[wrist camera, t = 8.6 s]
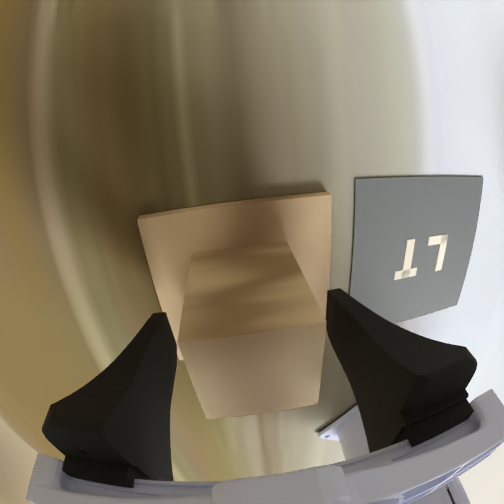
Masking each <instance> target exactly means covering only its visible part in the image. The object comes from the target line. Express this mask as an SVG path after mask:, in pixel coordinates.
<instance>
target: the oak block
mask: <svg viewBox="0 0 504 504" xmlns="http://www.w3.org/2000/svg"><path fill="white" fill-rule="evenodd" d="M325 334H326V320H325V318H324V316H323V314H322V311H321V309H320V307H319V305H318V303H317V301H316V299H315V297H314V295H313V293H312V291H311V289H310V287H309V285H308V283H307V281H306V279H305V277H304V275H303V273H302V271H301V269H300V267H299V265H298V263H297V261H296V259H295V257H294V255H293V253H292V251H291V249H290V247H289V245H288V243H287V242H280V243H272V244H264V245H256V246H248V247H240V248H232V249H224V250H216V251H209V252H201V253H193V254H192V256H191V261H190V267H189V272H188V278H187V284H186V290H185V296H184V302H183V308H182V314H181V321H180V327H179V334H178V341H177V342H178V345H179V348H180V351H181V354H182V356H183V359H184V362H185V365H186V368H187V370H188V373H189V376H190V378H191V381H192V384H193V386H194V389H195V391H196V394H197V396H198V399H199V401H200V404H201V406H202V409H203V411H204V413H205V416H206V418H207V419H216V418H228V417H238V416H247V415H255V414H263V413H270V412H276V411H282V410H288V409H294V408H299V407H304V406H309V405H314V404H318V398H319V391H320V383H321V374H322V365H323V356H324V345H325Z"/></svg>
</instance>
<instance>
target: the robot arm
mask: <svg viewBox="0 0 504 504" xmlns="http://www.w3.org/2000/svg"><path fill="white" fill-rule="evenodd" d="M326 330H327V333H328V336H329V339H330V342H331V344H332V347H333V349H334V351H335V353H336V355H337V357H338V359H339V361H340V363H341V365H342V367H343V369H344V371H345V373H346V375H347V378H348V380H349V382H350V384H351V387H352V390H353V393H354V396H355V399H356V402H357V405H356V406H355V407H353V408H352V409H351V410H350V411H348V412H347V413H346V414H344V415H343V416H342V417H340V418H339V419H338V420H336V421H335V422H334V423H332V424H331V425H329V426H328V427H327V428H325V429H324V430H322V431H321V432H319V433H318V437H319V438H322V439H330V440H339V441H340V444H341V447H342V450H343V453H344V456H345V459H346V461H342V462H338V463H334V464H330V465H325V466H318V467H312V468H308V469H303V470H297V471H292V472H286V473H280V474H274V475H267V476H259V477H250V478H239V479H233V480H226V481H210V482H173V473H172V463H171V449H170V407H171V399H172V392H173V386H174V379H175V373H176V366H177V344H176V341H175V338H174V335H173V332H172V329H171V326H170V323H169V320H168V317H167V314H166V312H162V313H153V314H152V315H151V317H150V318H149V319H148V321H147V322H146V323H145V324H144V326H143V327H142V328H141V330H140V331H139V332H138V333H137V335H136V336H135V337H134V339H133V340H132V341H131V342H130V343H129V345H128V346H127V347H126V348H125V349H124V350H123V351H122V353H121V354H120V355H119V356H118V357H117V358H116V359H115V360H114V361H113V362H112V363H111V364H110V365H109V366H108V367H107V368H106V369H105V370H104V371H102V372H101V373H100V374H99V375H98V376H96V377H95V378H94V379H93V380H91V381H90V382H89V383H87V384H86V385H85V386H83V387H82V388H80V389H79V390H77V391H76V392H74V393H72V394H71V395H69V396H67V397H65V398H63V399H61V400H60V401H58V402H56V403H54V404H51V406H50V408H49V411H48V413H47V416H46V419H45V421H44V424H43V427H42V432H43V434H44V435H45V437H46V438H47V439H48V441H49V442H51V443H52V444H53V445H54V446H55V447H56V448H57V449H58V450H59V451H61V452H62V453H63V454H64V455H65V460H64V461H62V460H60V459H57V458H54V457H50V456H47V455H43V454H40V453H39V454H38V455H37V458H36V461H35V465H34V468H33V472H32V476H31V480H30V484H29V488H28V492H27V496H26V499H27V500H28V501H30V502H31V503H33V504H470V502H469V499H468V497H467V495H466V493H465V491H464V488H463V486H462V484H461V482H460V480H459V478H458V476H460V475H461V474H463V473H465V472H466V471H467V470H469V469H471V468H472V467H473V466H475V465H477V464H478V463H479V462H481V461H482V460H484V459H485V458H487V457H488V456H489V455H490V454H492V453H493V452H494V451H495V450H496V449H497V448H498V447H499V446H500V445H501V444H502V443H503V442H504V405H503V404H502V403H501V401H500V400H499V398H498V397H497V395H496V394H495V393H494V391H493V390H492V389H490V390H488V391H487V392H485V393H483V394H482V395H480V396H478V397H477V398H475V399H474V400H473V401H471V402H470V404H469V402H468V401H467V399H466V398H468V393H467V391H466V390H465V389H466V387H467V385H468V384H469V382H470V380H471V379H472V377H473V375H474V373H475V371H476V367H477V361H476V359H475V358H474V357H473V355H472V354H471V353H470V352H469V350H468V349H467V348H466V347H463V346H458V345H452V344H447V343H443V342H439V341H435V340H432V339H429V338H425V337H423V336H420V335H417V334H415V333H412V332H410V331H407V330H405V329H403V328H401V327H399V326H397V325H395V324H393V323H391V322H389V321H388V320H386V319H384V318H383V317H381V316H379V315H378V314H376V313H374V312H373V311H371V310H370V309H368V308H367V307H366V306H364V305H363V304H361V303H360V302H358V301H357V300H356V299H354V298H353V297H351V296H350V295H349V294H347V293H346V292H344V291H343V290H342V289H340V288H339V289H334V290H328V291H327V304H326ZM445 484H446V485H447V487H446V485H445ZM447 488H448V489H447Z"/></svg>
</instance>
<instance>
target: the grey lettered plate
mask: <svg viewBox="0 0 504 504" xmlns="http://www.w3.org/2000/svg"><path fill="white" fill-rule="evenodd" d="M482 186H483V177H461V176H425V177H386V178H364V179H355V216H354V239H353V256H352V270H351V282H350V292H349V295H350V296H351V297H353V298H354V299H356V300H357V301H358V302H360V303H361V304H363V305H364V306H366V307H367V308H368V309H370V310H371V311H373V312H374V313H376V314H378V315H379V316H381V317H383V318H384V319H386V320H388V321H389V322H391V323H393V324H394V323H398V322H401V321H405V320H409V319H412V318H416V317H419V316H423V315H426V314H429V313H433V312H436V311H439V310H442V309H445V308H448V307H451V306H454V305H457V303H458V300H459V296H460V293H461V290H462V286H463V283H464V279H465V276H466V272H467V268H468V264H469V260H470V256H471V252H472V247H473V242H474V237H475V232H476V227H477V221H478V215H479V209H480V202H481V194H482Z"/></svg>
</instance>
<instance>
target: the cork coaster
mask: <svg viewBox="0 0 504 504" xmlns="http://www.w3.org/2000/svg"><path fill="white" fill-rule="evenodd" d="M137 222H138V227H139V231H140V235H141V239H142V243H143V246H144V250H145V254H146V258H147V261H148V265H149V269H150V272H151V276H152V279H153V282H154V286H155V289H156V292H157V296H158V299H159V302H160V305H161V308H162V311H163V312H166V314H167V317H168V320H169V323H170V326H171V329H172V332H173V335H174V338H175V341H176V344H177V355H178V357H179V360H184V359H183V356H182V354H181V351H180V348H179V345H178V342H177V341H178V334H179V327H180V321H181V314H182V308H183V302H184V296H185V290H186V284H187V278H188V272H189V267H190V261H191V256H192V254H193V253H201V252H209V251H216V250H224V249H232V248H240V247H248V246H256V245H264V244H272V243H280V242H287V243H288V245H289V247H290V249H291V251H292V253H293V255H294V257H295V259H296V261H297V263H298V265H299V267H300V269H301V271H302V273H303V275H304V277H305V279H306V281H307V283H308V285H309V287H310V289H311V291H312V293H313V295H314V297H315V299H316V301H317V303H318V305H319V307H320V309H321V311H322V314H323V316H324V318H325V320H326V304H327V291H328V290H330V268H331V230H332V195H331V194H330V193H328V192H317V193H306V194H296V195H286V196H277V197H267V198H259V199H250V200H242V201H234V202H226V203H219V204H211V205H204V206H197V207H190V208H183V209H177V210H170V211H164V212H158V213H152V214H146V215H140V216H139V218H138V219H137ZM326 334H327V330H326ZM326 334H325V340H326Z"/></svg>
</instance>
